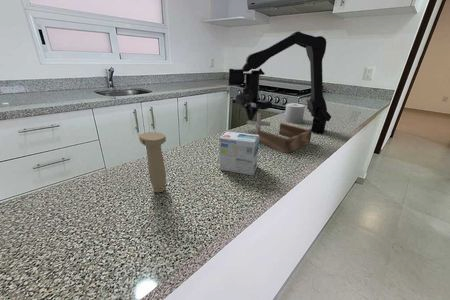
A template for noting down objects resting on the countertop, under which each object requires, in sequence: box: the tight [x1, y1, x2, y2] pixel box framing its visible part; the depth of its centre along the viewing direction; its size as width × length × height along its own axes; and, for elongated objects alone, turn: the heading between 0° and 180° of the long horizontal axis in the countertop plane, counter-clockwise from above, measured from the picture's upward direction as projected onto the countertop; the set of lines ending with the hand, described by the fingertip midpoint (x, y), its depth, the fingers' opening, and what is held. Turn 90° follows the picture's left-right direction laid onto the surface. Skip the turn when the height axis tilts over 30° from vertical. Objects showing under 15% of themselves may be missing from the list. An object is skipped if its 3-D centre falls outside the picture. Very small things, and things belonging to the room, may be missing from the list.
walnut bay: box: [256, 122, 313, 154], centre depth 85 cm, size 16×14×5 cm
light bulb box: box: [219, 131, 260, 176], centre depth 64 cm, size 11×7×11 cm, turn 71°
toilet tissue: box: [284, 102, 306, 124], centre depth 116 cm, size 9×13×9 cm
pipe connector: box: [246, 111, 271, 135], centre depth 94 cm, size 10×10×10 cm
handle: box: [138, 131, 167, 193], centre depth 52 cm, size 5×6×15 cm
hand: (250, 121), depth 97 cm, fingers closed
